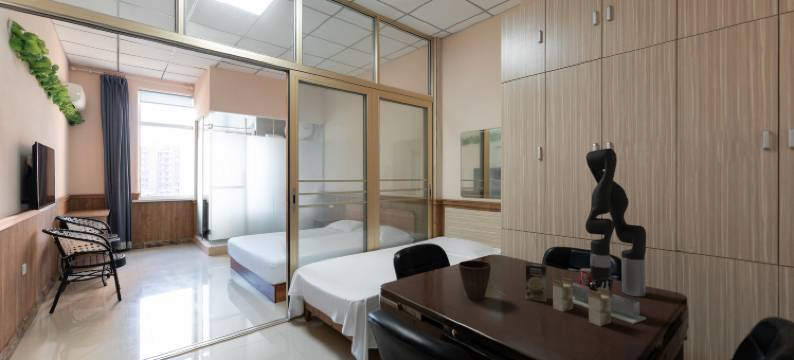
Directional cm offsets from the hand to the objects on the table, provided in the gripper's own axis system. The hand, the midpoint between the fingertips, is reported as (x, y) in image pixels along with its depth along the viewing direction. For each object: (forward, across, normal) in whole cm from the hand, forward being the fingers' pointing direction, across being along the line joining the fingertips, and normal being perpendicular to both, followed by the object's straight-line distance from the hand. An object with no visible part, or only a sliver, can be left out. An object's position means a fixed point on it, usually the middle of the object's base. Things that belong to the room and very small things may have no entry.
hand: (601, 304), depth 143 cm
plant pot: (+2, +38, -37) cm, 53 cm away
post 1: (+2, +14, -8) cm, 16 cm away
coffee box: (+2, +14, -22) cm, 26 cm away
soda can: (+2, -12, -14) cm, 19 cm away
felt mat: (+2, 0, 0) cm, 2 cm away
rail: (0, 0, 0) cm, 0 cm away
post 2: (+2, +14, +8) cm, 16 cm away
